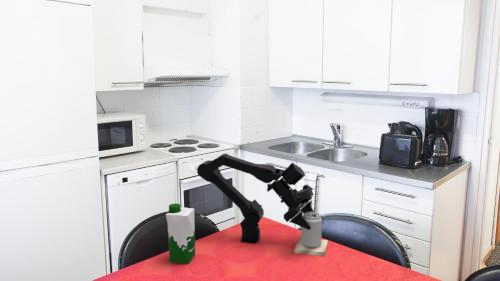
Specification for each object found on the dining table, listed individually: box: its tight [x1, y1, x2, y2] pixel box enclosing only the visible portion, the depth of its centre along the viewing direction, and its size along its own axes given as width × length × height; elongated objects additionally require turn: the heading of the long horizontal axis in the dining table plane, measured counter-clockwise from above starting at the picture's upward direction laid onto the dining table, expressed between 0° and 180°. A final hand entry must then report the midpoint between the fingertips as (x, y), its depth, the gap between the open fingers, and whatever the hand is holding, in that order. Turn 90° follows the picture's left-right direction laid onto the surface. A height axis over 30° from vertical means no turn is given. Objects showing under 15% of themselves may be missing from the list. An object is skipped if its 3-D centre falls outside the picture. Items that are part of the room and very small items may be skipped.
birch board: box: [294, 236, 329, 257], centre depth 151 cm, size 11×11×2 cm
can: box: [300, 211, 323, 248], centre depth 150 cm, size 8×8×12 cm
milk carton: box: [165, 203, 196, 265], centre depth 142 cm, size 9×9×20 cm
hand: (313, 224), depth 149 cm, fingers open, 9 cm apart
